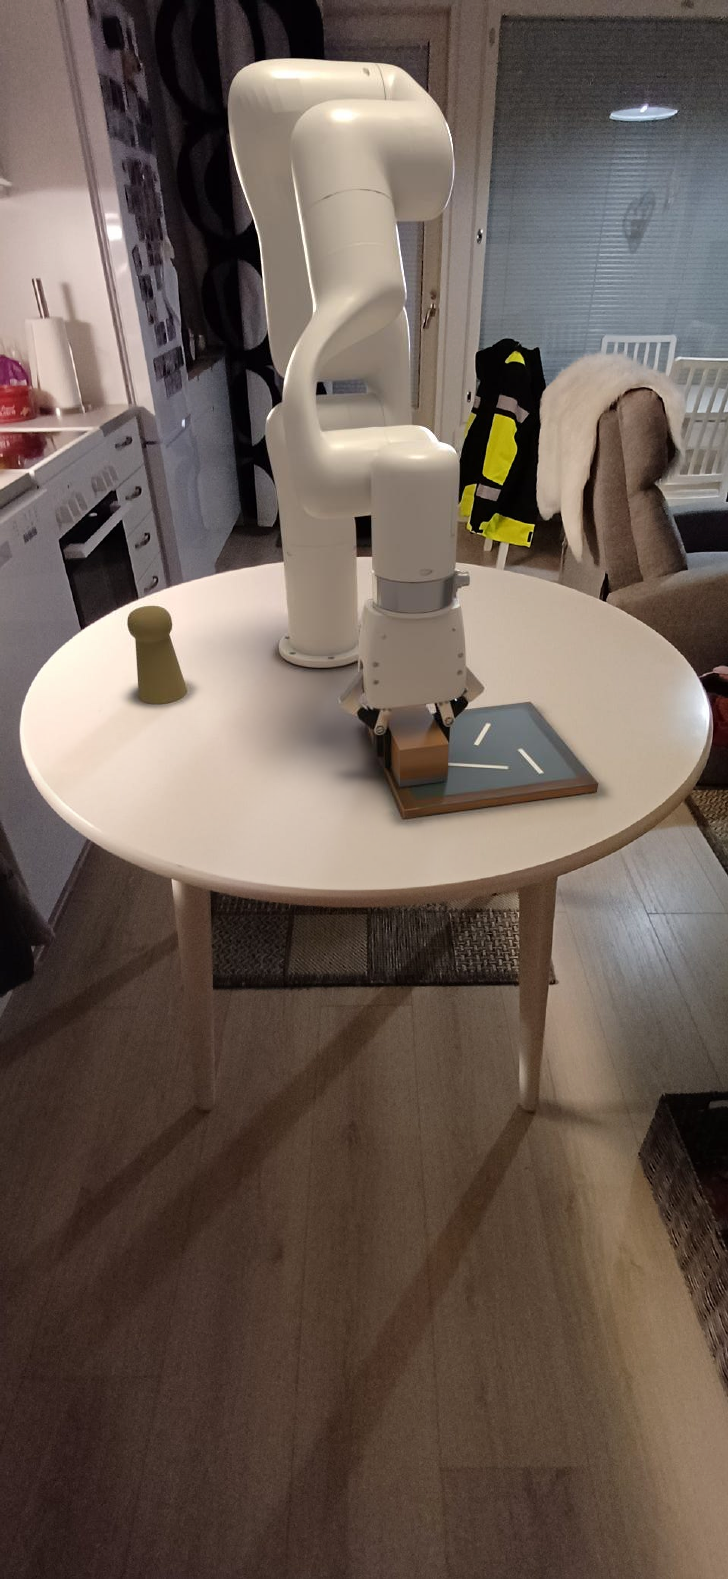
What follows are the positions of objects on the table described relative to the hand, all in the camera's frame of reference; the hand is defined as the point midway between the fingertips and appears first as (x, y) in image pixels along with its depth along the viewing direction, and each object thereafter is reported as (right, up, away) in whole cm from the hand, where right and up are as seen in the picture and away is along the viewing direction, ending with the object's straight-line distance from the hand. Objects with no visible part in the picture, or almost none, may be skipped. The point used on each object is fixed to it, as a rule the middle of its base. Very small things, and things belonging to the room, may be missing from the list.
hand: (411, 756), depth 81 cm
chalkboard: (+7, 0, +2) cm, 7 cm away
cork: (-30, +9, +17) cm, 36 cm away
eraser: (0, 0, 0) cm, 0 cm away
